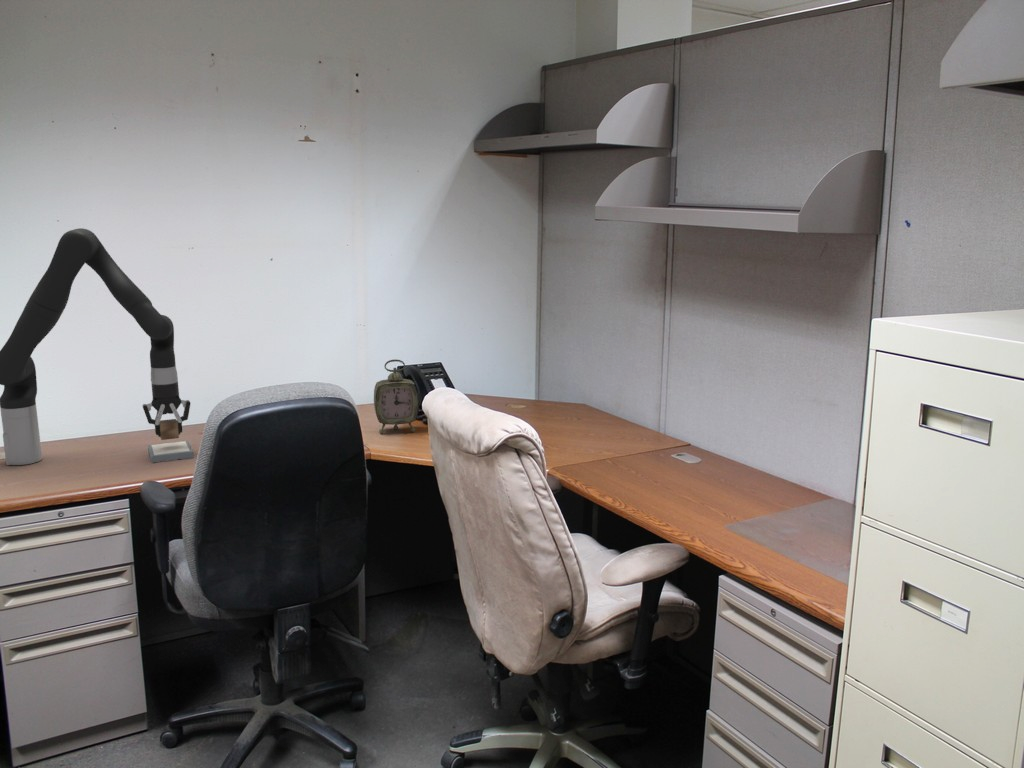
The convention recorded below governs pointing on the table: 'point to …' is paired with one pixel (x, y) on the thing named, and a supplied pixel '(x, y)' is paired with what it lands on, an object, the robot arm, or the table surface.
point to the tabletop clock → (395, 400)
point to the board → (170, 451)
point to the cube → (169, 429)
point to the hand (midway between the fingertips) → (169, 434)
